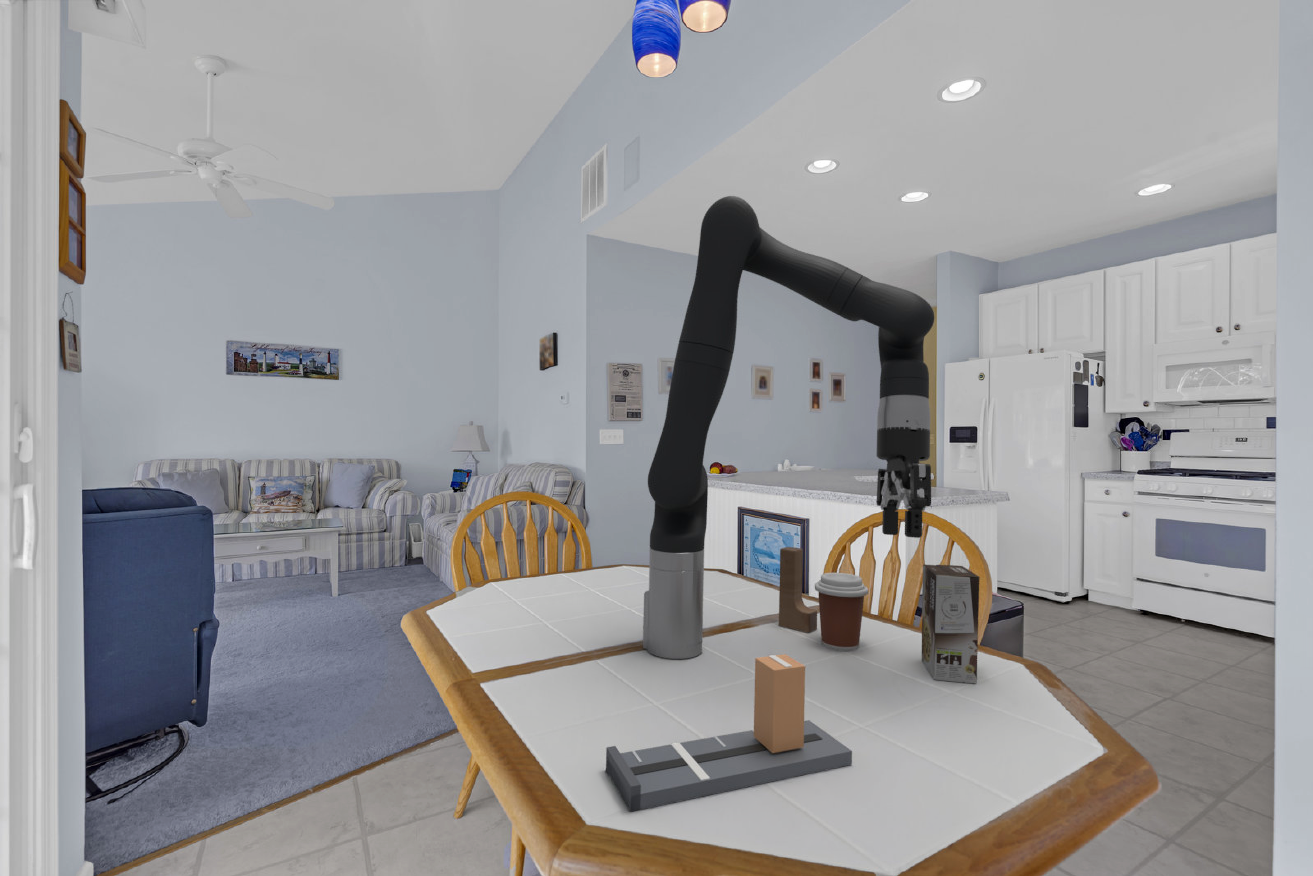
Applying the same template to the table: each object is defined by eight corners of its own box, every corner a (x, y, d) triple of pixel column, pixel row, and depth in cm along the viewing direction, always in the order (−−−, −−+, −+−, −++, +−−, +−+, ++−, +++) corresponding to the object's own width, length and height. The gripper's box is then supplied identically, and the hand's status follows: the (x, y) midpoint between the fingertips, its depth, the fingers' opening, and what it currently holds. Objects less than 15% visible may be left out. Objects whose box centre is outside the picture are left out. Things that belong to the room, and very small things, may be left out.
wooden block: (778, 626, 120) (779, 548, 120) (786, 622, 123) (788, 546, 123) (809, 633, 116) (810, 553, 116) (817, 629, 118) (818, 550, 118)
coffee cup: (809, 648, 108) (811, 579, 108) (817, 633, 116) (818, 569, 116) (865, 656, 104) (866, 585, 104) (868, 640, 113) (870, 574, 113)
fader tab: (772, 753, 68) (774, 669, 68) (753, 736, 71) (755, 656, 71) (803, 747, 69) (805, 664, 69) (783, 731, 73) (785, 653, 73)
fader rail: (630, 811, 60) (630, 786, 60) (605, 769, 67) (606, 747, 67) (851, 764, 69) (852, 743, 69) (808, 732, 77) (809, 712, 77)
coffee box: (978, 684, 93) (981, 576, 93) (932, 680, 94) (935, 574, 94) (961, 663, 102) (963, 564, 102) (919, 659, 103) (922, 562, 103)
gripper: (862, 432, 102) (859, 532, 100) (897, 420, 88) (895, 536, 86) (908, 435, 102) (906, 535, 100) (950, 423, 88) (949, 540, 86)
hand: (901, 536), depth 93 cm, fingers open, 8 cm apart
